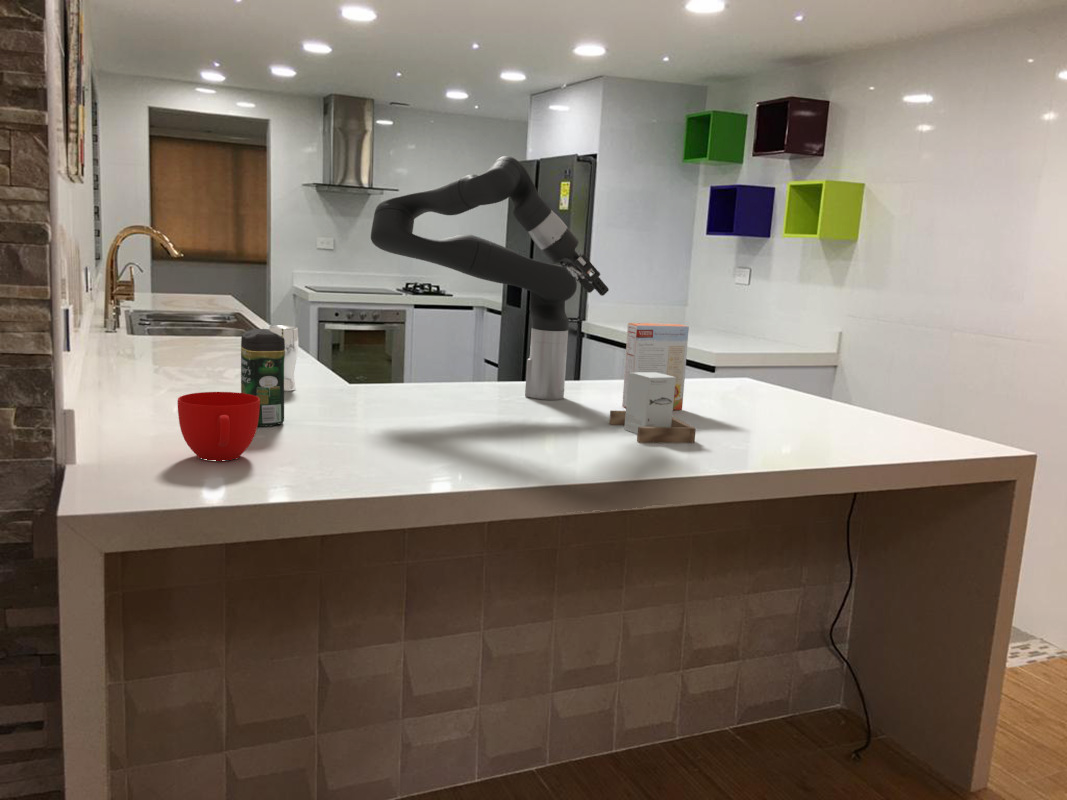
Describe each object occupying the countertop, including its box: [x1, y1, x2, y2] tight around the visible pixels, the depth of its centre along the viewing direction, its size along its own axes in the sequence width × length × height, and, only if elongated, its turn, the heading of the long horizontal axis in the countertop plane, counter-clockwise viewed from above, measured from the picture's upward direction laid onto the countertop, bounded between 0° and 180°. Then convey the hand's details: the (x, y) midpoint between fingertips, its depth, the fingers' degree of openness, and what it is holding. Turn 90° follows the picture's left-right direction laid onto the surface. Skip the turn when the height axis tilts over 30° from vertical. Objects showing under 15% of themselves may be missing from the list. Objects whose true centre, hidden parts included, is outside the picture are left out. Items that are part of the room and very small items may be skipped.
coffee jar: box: [240, 328, 285, 428], centre depth 180 cm, size 10×8×19 cm
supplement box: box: [623, 372, 676, 435], centre depth 195 cm, size 7×7×13 cm
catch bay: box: [608, 410, 697, 444], centre depth 195 cm, size 12×18×3 cm
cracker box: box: [621, 322, 690, 411], centre depth 223 cm, size 14×6×21 cm, turn 109°
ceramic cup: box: [177, 391, 260, 462], centre depth 151 cm, size 13×17×10 cm
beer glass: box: [268, 325, 299, 392], centre depth 218 cm, size 7×7×15 cm
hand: (598, 291), depth 204 cm, fingers open, 8 cm apart
